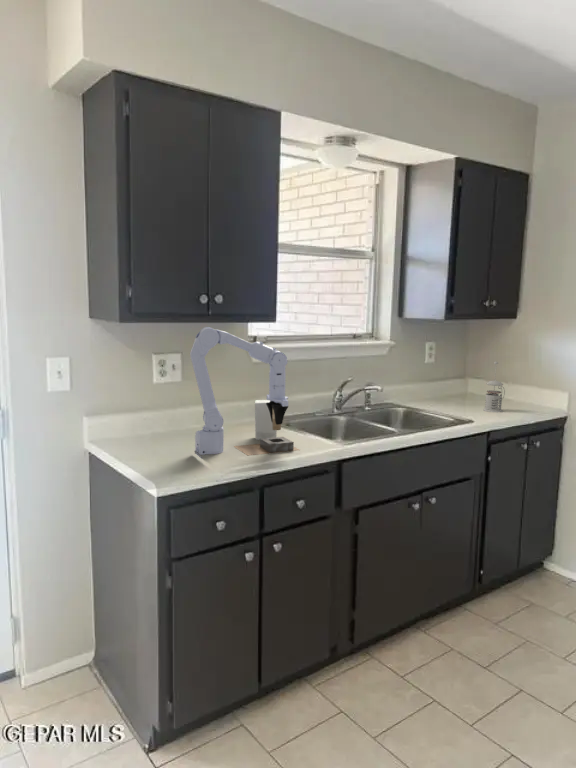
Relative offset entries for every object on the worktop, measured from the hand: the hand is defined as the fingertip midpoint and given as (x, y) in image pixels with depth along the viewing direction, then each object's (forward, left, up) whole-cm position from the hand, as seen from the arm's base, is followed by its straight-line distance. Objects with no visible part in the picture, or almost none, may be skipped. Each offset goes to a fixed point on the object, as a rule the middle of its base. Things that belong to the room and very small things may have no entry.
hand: (276, 423), depth 209 cm
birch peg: (0, 0, -2) cm, 2 cm away
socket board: (-3, +2, -10) cm, 11 cm away
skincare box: (+3, +17, -11) cm, 20 cm away
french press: (+137, +35, -11) cm, 142 cm away
